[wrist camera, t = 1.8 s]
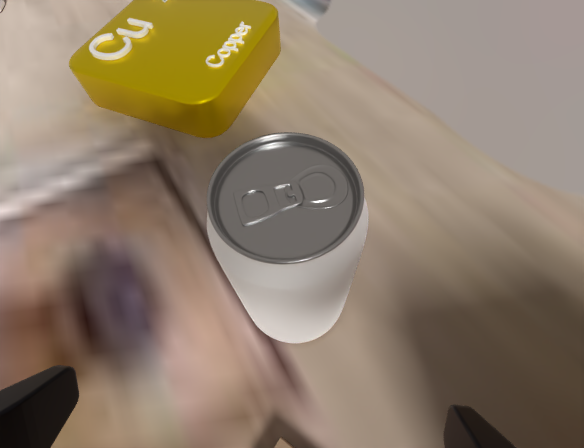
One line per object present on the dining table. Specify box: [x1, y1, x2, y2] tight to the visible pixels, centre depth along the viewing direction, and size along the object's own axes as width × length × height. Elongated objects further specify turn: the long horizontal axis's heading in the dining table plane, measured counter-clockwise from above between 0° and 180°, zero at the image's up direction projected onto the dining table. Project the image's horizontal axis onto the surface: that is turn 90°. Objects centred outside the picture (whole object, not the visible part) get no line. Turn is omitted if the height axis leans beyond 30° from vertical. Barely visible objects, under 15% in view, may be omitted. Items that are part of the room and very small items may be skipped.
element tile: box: [69, 0, 281, 138], centre depth 33 cm, size 15×15×5 cm
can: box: [207, 132, 368, 343], centre depth 17 cm, size 6×6×12 cm
